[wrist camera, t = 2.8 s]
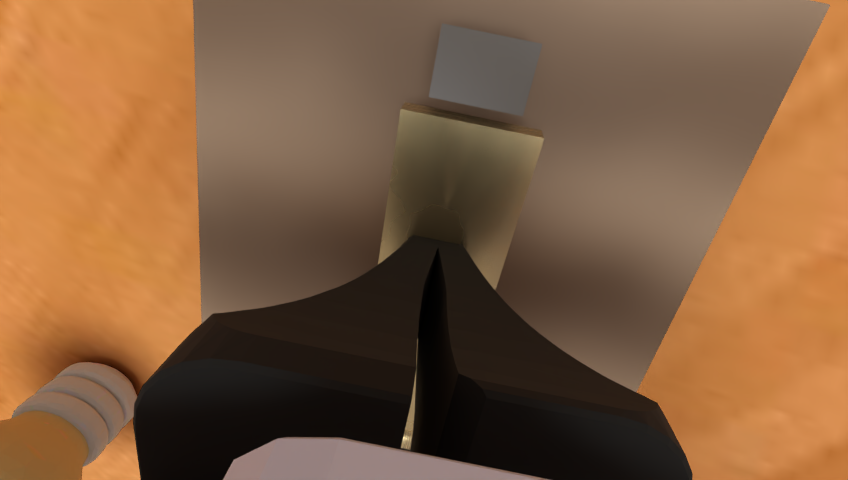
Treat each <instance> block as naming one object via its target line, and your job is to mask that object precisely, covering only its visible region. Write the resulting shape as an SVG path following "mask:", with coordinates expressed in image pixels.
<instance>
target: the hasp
mask: <svg viewBox="0 0 848 480" xmlns="http://www.w3.org/2000/svg"><path fill="white" fill-rule="evenodd" d="M544 139H545V138H544V136H543V133H542V131H541V130H539V129H534V128H529V127H524V126H520V125H515V124H510V123H505V122H500V121H495V120H490V119H485V118H481V117H476V116H471V115H466V114H461V113H456V112H451V111H446V110H441V109H437V108H432V107H427V106H422V105H417V104H412V103H407V102H405V103H404V104H403V106H402V108H401V110H400V117H399V124H398V131H397V138H396V145H395V151H394V158H393V165H392V172H391V179H390V186H389V192H388V199H387V206H386V213H385V220H384V227H383V233H382V240H381V247H380V254H379V261H378V264H379V263H381V262H382V261H384V260H385V259H386V258H387V257H388V256H390V255H391V254H392V253H393V252H395V251H396V250H397V249H398V248H399V247H400V246H401V245H402V244H403V243H404V242H405V241H406V240H407V239H408V238H409V237H411V236H413V235H416V236H420V237H425V238H430V239H435V240H440V241H445V242H450V243H455V244H461V245H463V246H464V247H465V249H466V250H467V252H468V253H469V255H470V257H471V258H472V260H473V261H474V263H475V264H476V266H477V267H478V269H479V270H480V272H481V273H482V274H483V276H484V277H485V278H486V280H487V281H488V282H489V284H490V285H491V286H492V287H493V289H494V290H496V287H497V284H498V281H499V278H500V275H501V271H502V268H503V265H504V262H505V259H506V256H507V253H508V250H509V247H510V244H511V241H512V237H513V234H514V231H515V228H516V225H517V222H518V219H519V216H520V213H521V210H522V207H523V203H524V200H525V197H526V194H527V191H528V188H529V185H530V182H531V179H532V176H533V173H534V169H535V166H536V163H537V160H538V157H539V154H540V151H541V148H542V145H543V142H544ZM417 344H418V339H417ZM416 366H417V357H416ZM415 390H416V374H415V381H414V388H413V395H412V401H411V406H410V410H409V414H408V419H407V423H406V427H405V432H404V436H403V440H402V445H401V448H404V449H408V450H410V447H411V440H412V434H413V424H414V413H415Z"/></svg>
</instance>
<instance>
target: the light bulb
mask: <svg viewBox="0 0 848 480" xmlns="http://www.w3.org/2000/svg"><path fill="white" fill-rule="evenodd" d="M136 399H137V395H136V392H135V390H134V388H133V385H132V383H131V382H130V381H129V379H128V378H127V377H126V376H125V375H124V374H122V373H121V372H120V371H118V370H117V369H115V368H112V367H110V366H108V365H104V364H100V363H91V362H79V363H76V364H73V365H70V366H68V367H67V368H65V369H64V370H63V371H61V372H60V373H59V374H58V375H57V376H56V377H55V378H54V379H53V380H51V381H50V382H48V383H47V384H45V385H44V386H43V387H42V388H40V389H39V390H38V391H37V392H36V394H35V395H33V396H31V397H30V398H28V399H27V400H26V401H25V402H23V403H22V404H21V405H20V406H18V407H17V409H16V410H15V411H14V413H13V415H12V418H11V419H8V420H2V421H0V480H82V467H83V466H86V465H88V464H89V463H91V462H93V461H94V460H95V459H96V458H97V457H98V456H99V455H100V454H101V452H102V451H103V450H104V449H105V447H106V445H107V444H109V443H110V442H111V441H112V440H113V439H114V438H115V437H116V436H117V435H118V433H119V432H120V430H121V428H123V427H124V426H125V425H126V424H127V423H128V422H129V421H130V420H131V419H132V418H133V417H134V403H135V401H136Z"/></svg>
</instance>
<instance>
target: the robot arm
mask: <svg viewBox="0 0 848 480" xmlns="http://www.w3.org/2000/svg"><path fill="white" fill-rule="evenodd" d="M417 339H418V344H417ZM416 357H417V366H416ZM415 374H416V390H415V413H414V424H413V434H412V440H411V447H410V451H405V450H400V449H401V445H402V440H403V436H404V432H405V427H406V423H407V419H408V414H409V410H410V406H411V401H412V395H413V388H414V381H415ZM133 425H134V433H135V440H136V447H137V455H138V462H139V469H140V477H141V480H692V471H691V468H690V466H689V463H688V461H687V458H686V455H685V453H684V451H683V450H682V448H681V446H680V444H679V442H678V440H677V438H676V436H675V434H674V432H673V431H672V429H671V427H670V425H669V423H668V421H667V419H666V417H665V415H664V414H663V412H662V410H661V408H660V407H659V405H658V403H656V402H654V401H652V400H650V399H648V398H646V397H644V396H642V395H640V394H638V393H636V392H634V391H632V390H630V389H628V388H626V387H624V386H622V385H620V384H618V383H616V382H614V381H612V380H610V379H609V378H607V377H605V376H603V375H601V374H600V373H598V372H596V371H595V370H593V369H591V368H590V367H588V366H586V365H585V364H583V363H581V362H580V361H578V360H576V359H575V358H573V357H572V356H570V355H569V354H567V353H566V352H564V351H563V350H561V349H560V348H558V347H557V346H556V345H554V344H553V343H552V342H550V341H549V340H548V339H546V338H545V337H544V336H542V335H541V334H540V333H538V332H537V331H536V330H535V329H534V328H532V327H531V326H530V325H529V324H528V323H527V322H525V321H524V320H523V319H522V318H521V317H520V316H519V315H518V314H517V313H516V312H515V311H514V310H513V309H512V308H511V307H510V306H509V305H508V304H507V303H506V302H505V301H504V300H503V299H502V298H501V297H500V295H499V294H498V293H497V292H496V291H495V290H494V289H493V287H492V286H491V285H490V284H489V282H488V281H487V280H486V278H485V277H484V276H483V274H482V273H481V272H480V270H479V269H478V267H477V266H476V264H475V263H474V261H473V260H472V258H471V257H470V255H469V253H468V252H467V250H466V249H465V247H464V246H463V245H461V244H455V243H450V242H445V241H440V240H435V239H430V238H425V237H420V236H416V235H413V236H411V237H409V238H408V239H407V240H406V241H405V242H404V243H403V244H402V245H401V246H400V247H399V248H398V249H397V250H396V251H395V252H393V253H392V254H391V255H390V256H388V257H387V258H386V259H385V260H384V261H382V262H381V263H379V264H378V265H376V266H375V267H373V268H372V269H371V270H369V271H368V272H366V273H365V274H363V275H361V276H360V277H358V278H356V279H354V280H352V281H350V282H348V283H346V284H344V285H341V286H339V287H337V288H334V289H331V290H328V291H325V292H322V293H320V294H317V295H314V296H311V297H308V298H304V299H300V300H297V301H293V302H289V303H284V304H279V305H275V306H269V307H264V308H257V309H249V310H241V311H233V312H225V313H213V314H212V315H211V316H210V317H208V318H207V319H206V320H205V321H204V322H203V323H202V324H201V325H200V326H199V327H197V328H196V329H195V330H194V331H193V332H192V333H191V334H190V335H189V336H188V337H187V338H186V339H185V340H184V341H183V342H182V343H181V344H180V345H179V346H178V347H177V348H176V350H175V351H174V352H173V353H172V354H171V355H170V356H169V357H168V358H167V360H166V361H165V362H164V363H163V364H162V365H161V366H160V367H159V368H158V369H157V371H156V372H155V373H154V374H153V375H152V376H151V377H150V378H149V379H148V381H147V382H146V383H145V384H144V385H143V386H142V388H141V390H140V393H139V395H138V397H137V399H136V401H135V403H134V418H133Z"/></svg>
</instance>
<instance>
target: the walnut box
mask: <svg viewBox="0 0 848 480" xmlns="http://www.w3.org/2000/svg"><path fill="white" fill-rule="evenodd" d="M829 7H830V5H829V4H825V3H820V2H815V1H810V0H193V9H194V47H195V85H196V123H197V161H198V199H199V237H200V276H201V314H202V323H203V322H204V321H205V320H206V319H207V318H208V317H210V316H211V315H212V314H213V313H225V312H233V311H241V310H249V309H257V308H264V307H269V306H275V305H279V304H284V303H289V302H293V301H297V300H300V299H304V298H308V297H311V296H314V295H317V294H320V293H322V292H325V291H328V290H331V289H334V288H337V287H339V286H341V285H344V284H346V283H348V282H350V281H352V280H354V279H356V278H358V277H360V276H361V275H363V274H365V273H366V272H368V271H369V270H371V269H372V268H373V267H375V266H376V265H378V261H379V254H380V247H381V240H382V233H383V227H384V220H385V213H386V206H387V199H388V192H389V186H390V179H391V172H392V165H393V158H394V151H395V145H396V138H397V131H398V124H399V117H400V110H401V108H402V106H403V104H404V103H405V102H407V103H412V104H417V105H422V106H427V107H432V108H437V109H441V110H446V111H451V112H456V113H461V114H466V115H471V116H476V117H481V118H485V119H490V120H495V121H500V122H505V123H510V124H515V125H520V126H524V127H529V128H534V129H539V130H541V131H542V133H543V136H544V138H545V139H544V142H543V145H542V148H541V151H540V154H539V157H538V160H537V163H536V166H535V169H534V173H533V176H532V179H531V182H530V185H529V188H528V191H527V194H526V197H525V200H524V203H523V207H522V210H521V213H520V216H519V219H518V222H517V225H516V228H515V231H514V234H513V237H512V241H511V244H510V247H509V250H508V253H507V256H506V259H505V262H504V265H503V268H502V271H501V275H500V278H499V281H498V284H497V287H496V290H495V291H496V292H497V293H498V294H499V295H500V297H501V298H502V299H503V300H504V301H505V302H506V303H507V304H508V305H509V306H510V307H511V308H512V309H513V310H514V311H515V312H516V313H517V314H518V315H519V316H520V317H521V318H522V319H523V320H524V321H525V322H527V323H528V324H529V325H530V326H531V327H532V328H534V329H535V330H536V331H537V332H538V333H540V334H541V335H542V336H544V337H545V338H546V339H548V340H549V341H550V342H552V343H553V344H554V345H556V346H557V347H558V348H560V349H561V350H563V351H564V352H566V353H567V354H569V355H570V356H572V357H573V358H575V359H576V360H578V361H580V362H581V363H583V364H585V365H586V366H588V367H590V368H591V369H593V370H595V371H596V372H598V373H600V374H601V375H603V376H605V377H607V378H609V379H610V380H612V381H614V382H616V383H618V384H620V385H622V386H624V387H626V388H628V389H630V390H632V391H634V392H637V390H638V388H639V386H640V384H641V382H642V380H643V378H644V376H645V374H646V372H647V370H648V368H649V366H650V364H651V362H652V360H653V358H654V356H655V354H656V352H657V350H658V348H659V346H660V344H661V342H662V340H663V338H664V336H665V334H666V332H667V330H668V328H669V326H670V324H671V322H672V320H673V318H674V316H675V314H676V312H677V310H678V308H679V306H680V304H681V302H682V300H683V298H684V296H685V294H686V292H687V290H688V288H689V286H690V284H691V282H692V280H693V278H694V276H695V274H696V272H697V270H698V268H699V266H700V264H701V262H702V260H703V258H704V256H705V254H706V252H707V250H708V248H709V246H710V244H711V242H712V240H713V238H714V236H715V234H716V232H717V230H718V228H719V226H720V224H721V222H722V220H723V218H724V216H725V214H726V212H727V210H728V208H729V206H730V204H731V202H732V200H733V198H734V196H735V194H736V192H737V190H738V188H739V186H740V184H741V182H742V180H743V178H744V176H745V174H746V172H747V170H748V168H749V166H750V164H751V162H752V160H753V158H754V156H755V154H756V152H757V150H758V148H759V146H760V144H761V142H762V140H763V138H764V136H765V134H766V132H767V130H768V128H769V126H770V124H771V122H772V120H773V118H774V116H775V114H776V112H777V110H778V108H779V106H780V104H781V102H782V100H783V98H784V96H785V94H786V92H787V90H788V88H789V86H790V84H791V82H792V80H793V78H794V76H795V74H796V72H797V70H798V68H799V66H800V64H801V62H802V60H803V58H804V56H805V54H806V52H807V50H808V48H809V46H810V44H811V42H812V40H813V38H814V37H815V35H816V33H817V31H818V29H819V27H820V25H821V23H822V21H823V19H824V17H825V15H826V13H827V11H828V9H829ZM400 450H405V451H410V450H408V449H404V448H401V449H400Z"/></svg>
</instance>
